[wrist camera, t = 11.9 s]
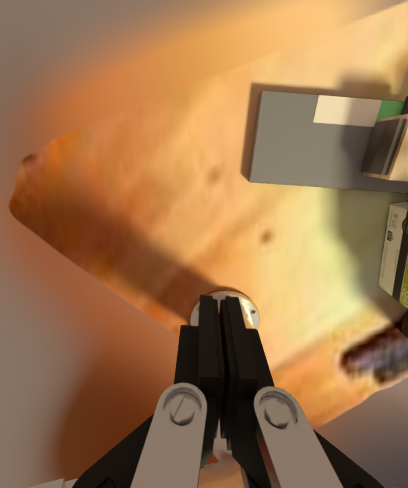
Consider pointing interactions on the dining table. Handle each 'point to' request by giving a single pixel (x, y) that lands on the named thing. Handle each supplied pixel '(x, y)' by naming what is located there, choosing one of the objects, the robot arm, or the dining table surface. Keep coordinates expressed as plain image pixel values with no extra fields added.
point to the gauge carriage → (388, 148)
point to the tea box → (396, 254)
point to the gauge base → (318, 141)
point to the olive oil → (405, 325)
